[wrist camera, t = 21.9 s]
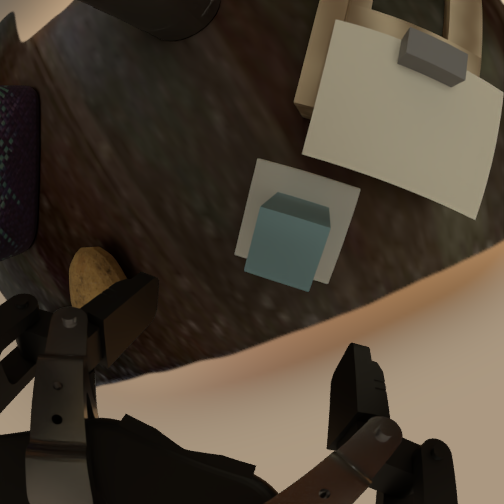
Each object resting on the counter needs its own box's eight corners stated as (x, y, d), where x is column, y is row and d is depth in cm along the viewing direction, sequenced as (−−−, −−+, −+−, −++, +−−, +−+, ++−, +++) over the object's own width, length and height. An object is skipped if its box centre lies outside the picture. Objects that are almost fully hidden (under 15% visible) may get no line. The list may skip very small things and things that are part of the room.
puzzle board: (302, 117, 26) (293, 102, 18) (344, -56, 17) (344, -99, 9) (452, 172, 23) (494, 181, 16) (474, -7, 14) (502, -35, 7)
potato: (143, 238, 34) (101, 261, 27) (154, 335, 39) (123, 369, 31) (87, 231, 36) (45, 249, 29) (102, 319, 41) (69, 346, 33)
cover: (302, 154, 19) (298, 154, 15) (335, 25, 15) (336, 3, 12) (469, 216, 17) (491, 228, 14) (497, 94, 13) (520, 88, 10)
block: (277, 191, 27) (260, 206, 20) (329, 207, 27) (330, 228, 19) (264, 240, 29) (243, 270, 22) (313, 255, 29) (308, 291, 21)
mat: (237, 251, 32) (234, 254, 31) (259, 158, 28) (257, 158, 27) (327, 280, 30) (327, 284, 29) (359, 188, 26) (360, 189, 26)
